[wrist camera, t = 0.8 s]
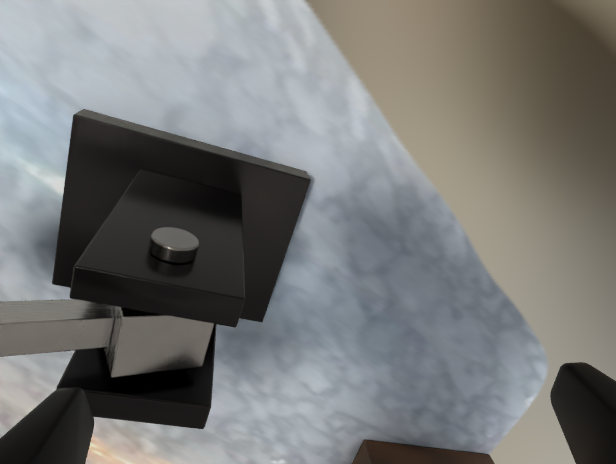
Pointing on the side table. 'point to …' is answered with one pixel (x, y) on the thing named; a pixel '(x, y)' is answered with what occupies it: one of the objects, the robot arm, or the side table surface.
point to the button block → (414, 455)
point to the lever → (104, 334)
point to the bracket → (168, 250)
